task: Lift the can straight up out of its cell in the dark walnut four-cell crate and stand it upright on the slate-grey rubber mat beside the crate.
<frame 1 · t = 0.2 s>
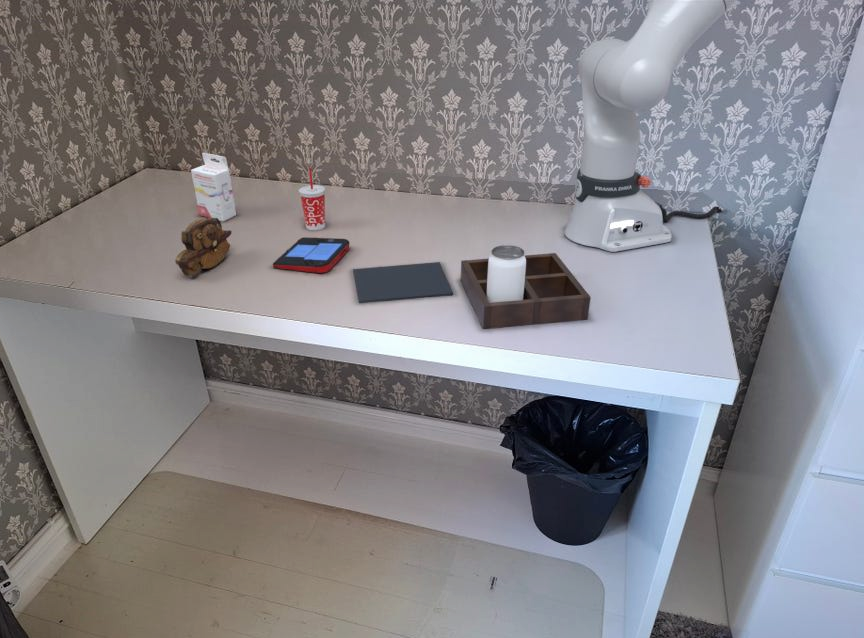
ink cartridge box: (218, 216, 169), on the table
crate: (520, 299, 127), on the table
mat: (401, 282, 134), on the table
wooden carving: (210, 267, 144), on the table
beverage cup: (315, 227, 161), on the table
can: (503, 313, 123), resting in crate
game console: (313, 259, 146), on the table
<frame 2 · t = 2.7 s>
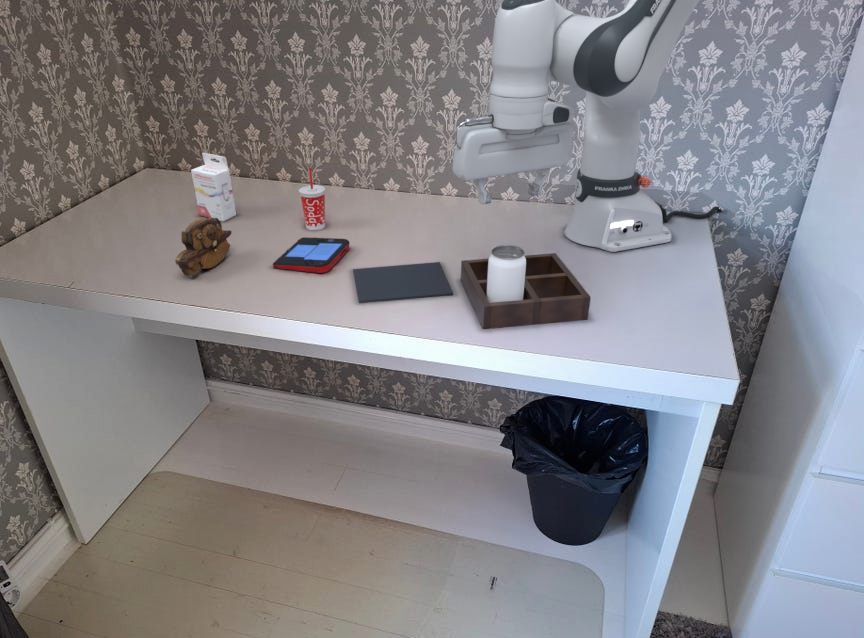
hand: (509, 198, 112), 21 cm above the table, tool pointing down, fingers open, 8 cm apart
nothing on the table moved.
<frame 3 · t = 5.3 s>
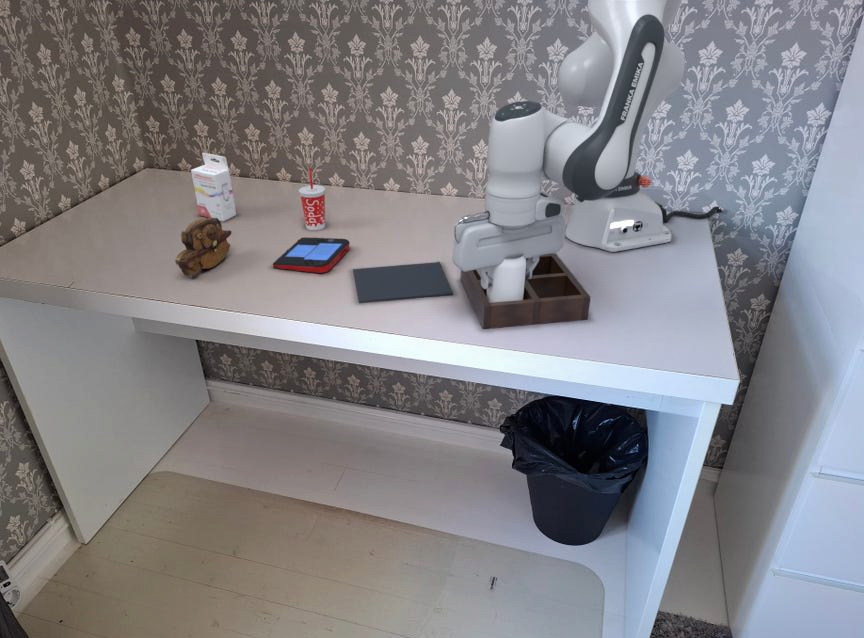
hand: (506, 282, 119), 6 cm above the table, tool pointing down, fingers closed on can, 6 cm apart
can: (503, 313, 123), resting in crate, touching gripper
everything else where it was.
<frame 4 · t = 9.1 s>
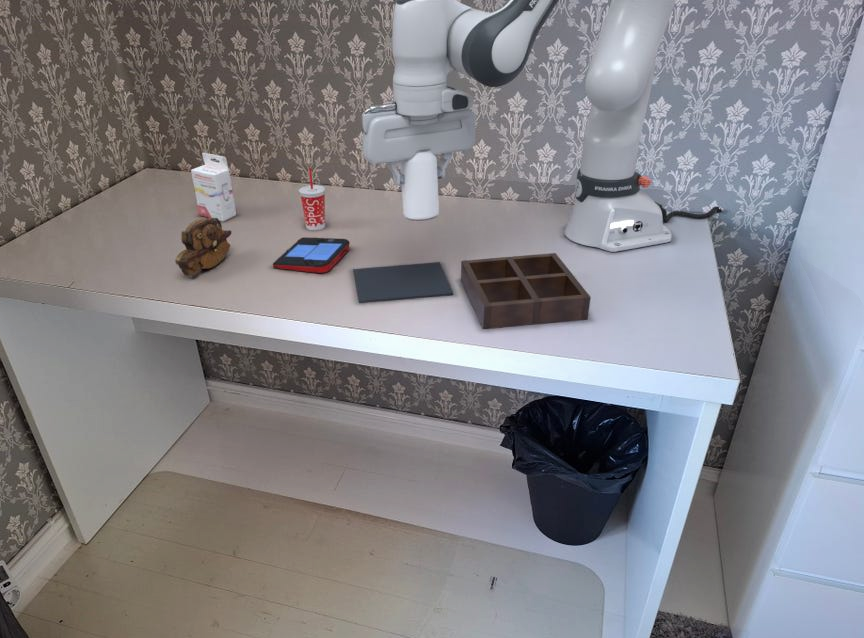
hand: (419, 181, 120), 21 cm above the table, tool pointing down, fingers closed on can, 6 cm apart
can: (421, 217, 123), point 15 cm above the table, touching gripper
everything else where it was.
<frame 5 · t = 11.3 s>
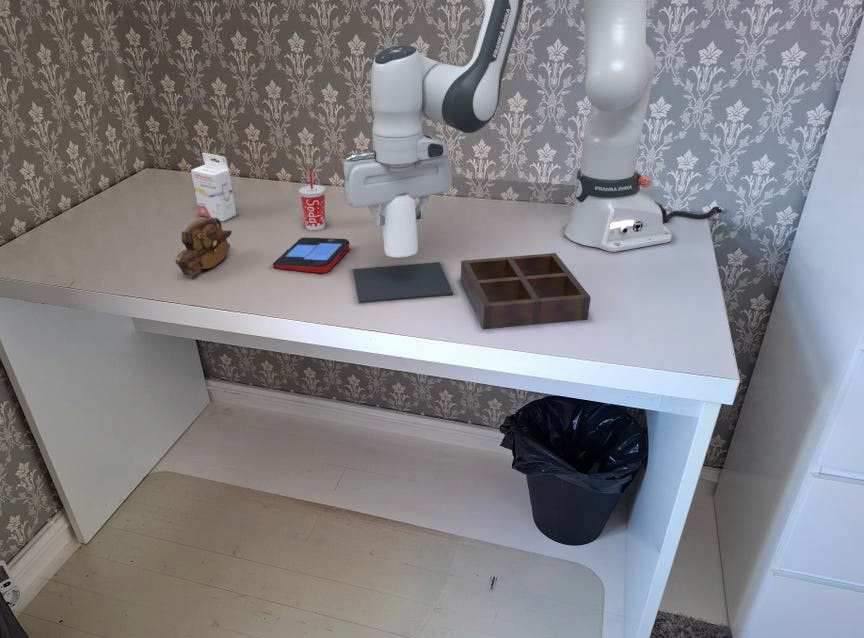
hand: (399, 221, 128), 13 cm above the table, tool pointing down, fingers closed on can, 6 cm apart
can: (401, 254, 131), point 6 cm above the table, touching gripper
everything else where it was.
when the fingers open (7 cm above the table, at t = 13.2 s): can stays where it is, resting on mat.
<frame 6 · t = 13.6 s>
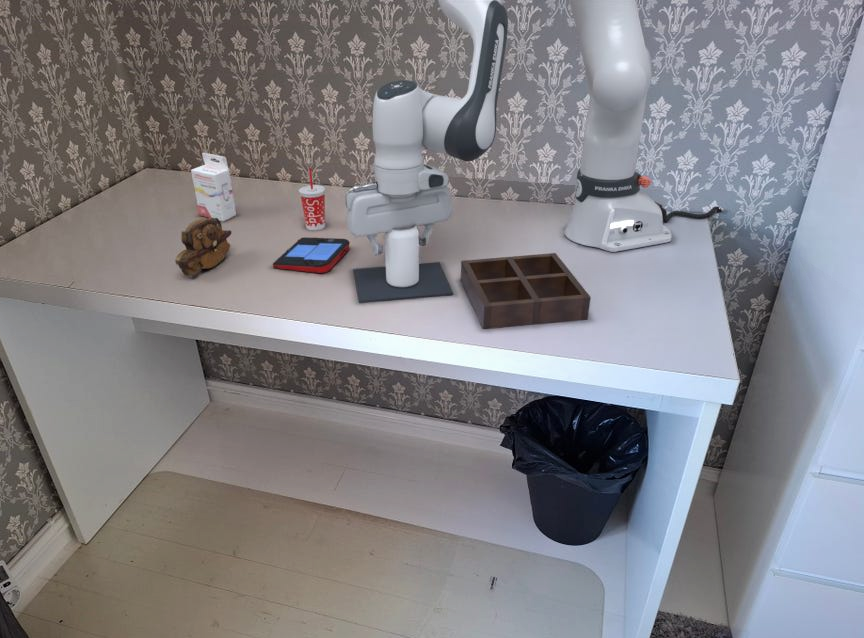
hand: (400, 249, 130), 7 cm above the table, tool pointing down, fingers open, 8 cm apart
can: (402, 282, 134), resting on mat
everything else where it was.
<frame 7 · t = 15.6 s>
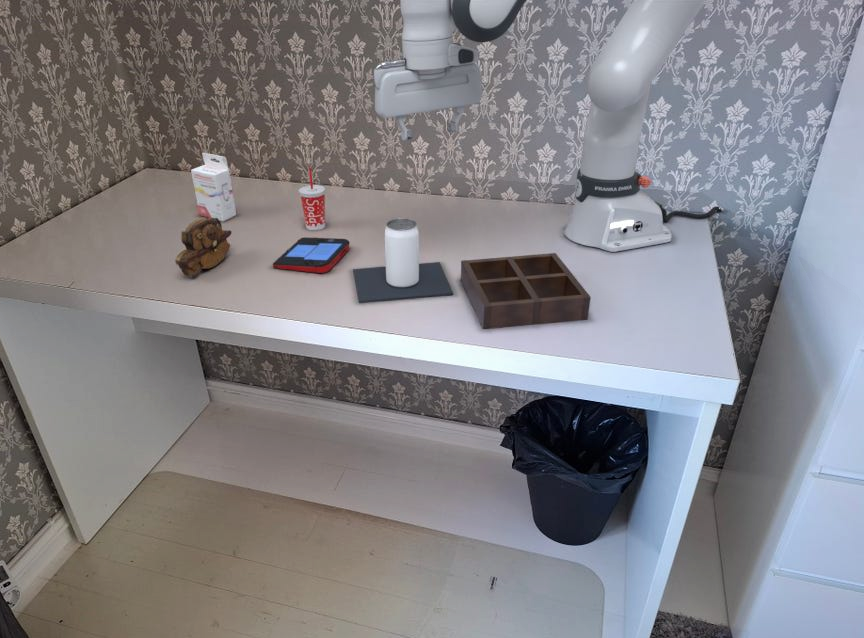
hand: (429, 135, 127), 26 cm above the table, tool pointing down, fingers open, 8 cm apart
nothing on the table moved.
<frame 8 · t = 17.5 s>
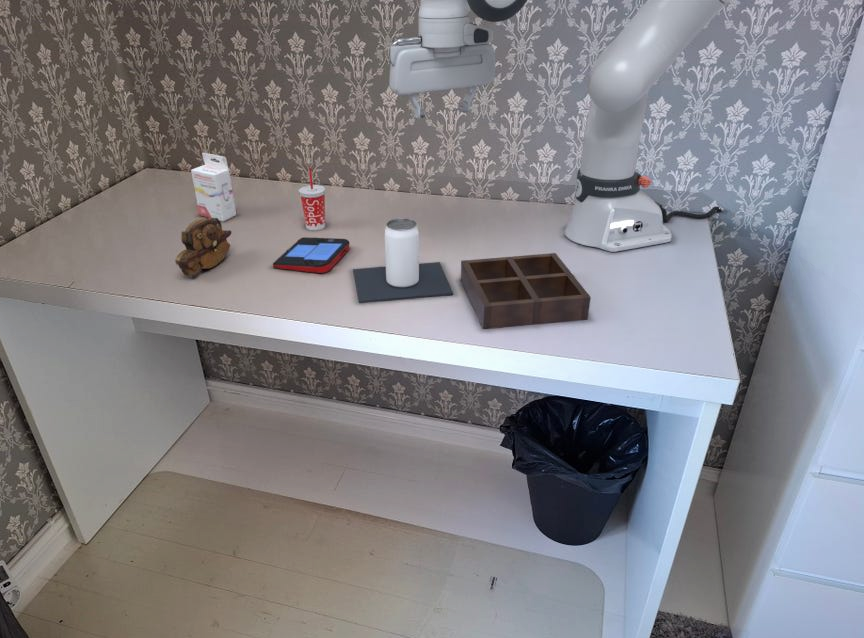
hand: (442, 114, 128), 29 cm above the table, tool pointing down, fingers open, 8 cm apart
nothing on the table moved.
at the end: can inside the target area on the mat (0.4 cm from its centre), point 0.3 cm above the mat's base; can tilted 0°; the gripper is holding nothing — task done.
